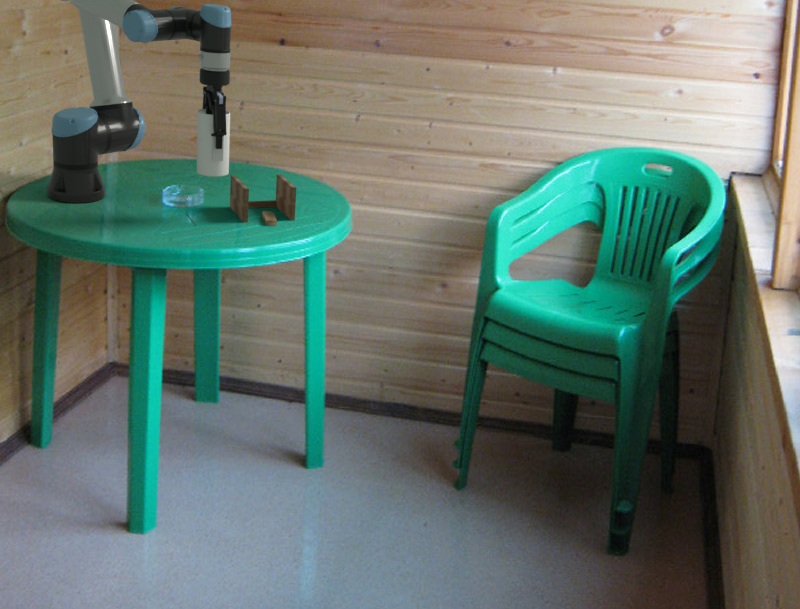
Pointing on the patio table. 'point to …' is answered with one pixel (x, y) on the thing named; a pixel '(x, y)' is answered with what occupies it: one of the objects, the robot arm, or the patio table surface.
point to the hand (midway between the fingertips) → (213, 156)
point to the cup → (205, 146)
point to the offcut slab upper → (269, 218)
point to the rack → (283, 201)
